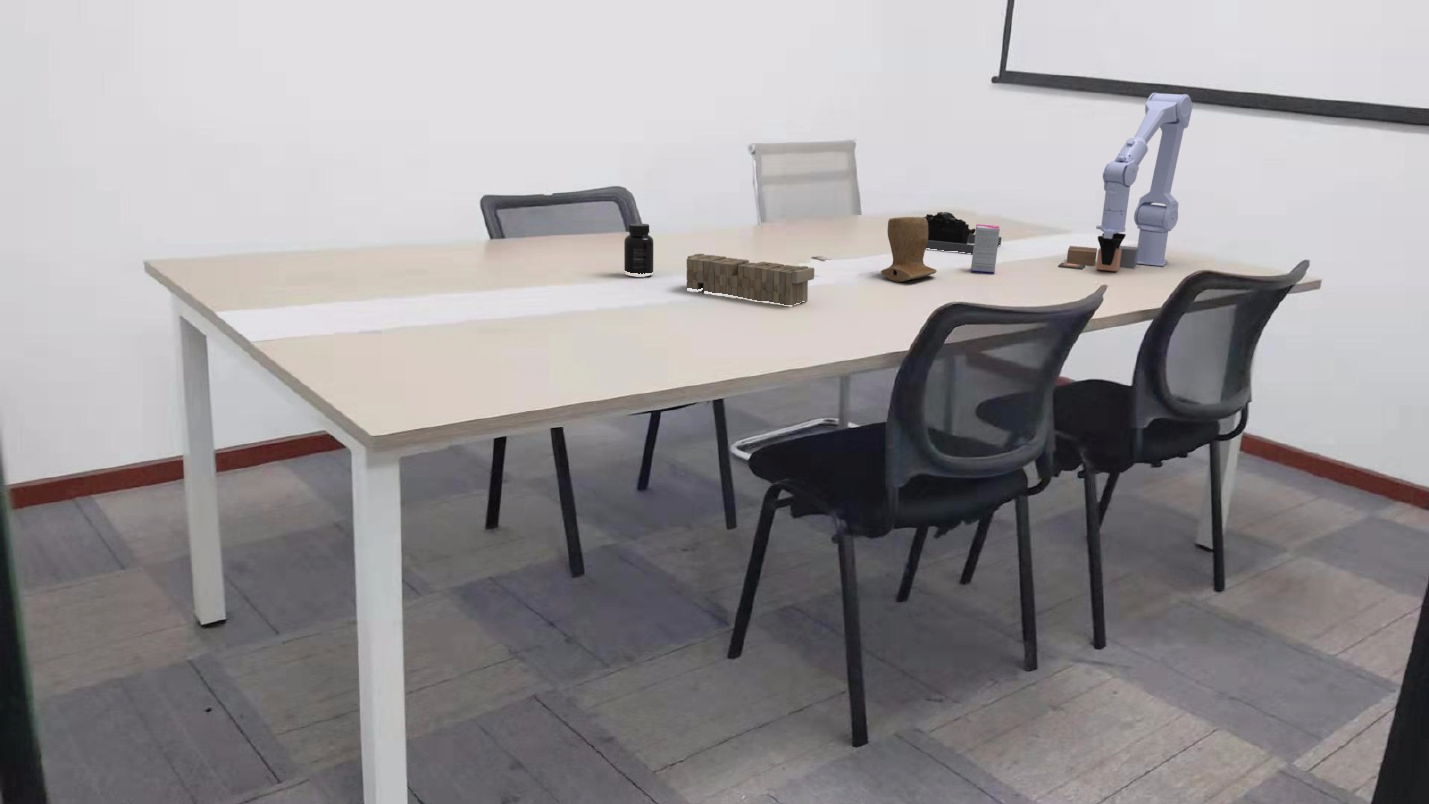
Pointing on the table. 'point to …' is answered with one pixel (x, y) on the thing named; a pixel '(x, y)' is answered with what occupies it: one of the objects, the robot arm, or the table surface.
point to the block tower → (749, 278)
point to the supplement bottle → (638, 249)
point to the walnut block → (1081, 255)
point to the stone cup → (907, 248)
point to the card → (1071, 266)
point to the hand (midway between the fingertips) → (1108, 263)
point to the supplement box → (985, 249)
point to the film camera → (947, 228)
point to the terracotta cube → (1115, 262)
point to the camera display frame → (955, 245)
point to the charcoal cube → (1128, 257)
